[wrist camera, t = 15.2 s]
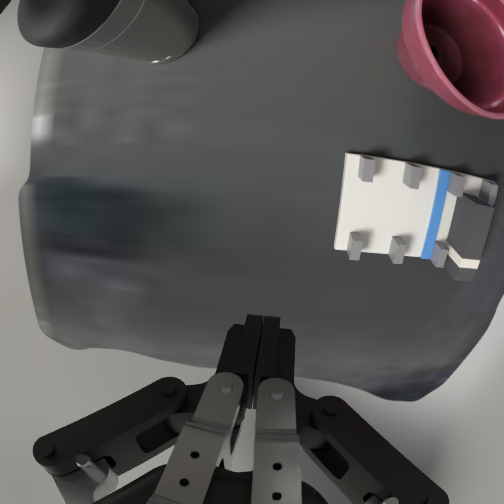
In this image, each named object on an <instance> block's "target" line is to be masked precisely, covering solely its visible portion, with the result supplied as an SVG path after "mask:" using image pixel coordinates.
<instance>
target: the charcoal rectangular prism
mask: <svg viewBox="0 0 504 504" xmlns="http://www.w3.org/2000/svg"><path fill="white" fill-rule="evenodd" d="M493 212H494V207H493V206H491V205H489V204H488V203H486V202H485V201H483V200H482V199H480V198H478V197H477V196H475V195H471V194H466V193H463V195H462V197H457V199H456V203H455V208H454V212H453V216H452V221H451V225H450V229H449V233H448V236H447V240H446V242H445V245H444V246H445V247H446V248H447V249H448V254H447V257H446V260H445V263H444V267H445V269H446V270H447V271H448V272H449V274H450V275H451V276H452V278H453V279H454V280H455V281H468V282H472V280H473V278H474V275H475V272H476V269H477V268H478V265H479V262H480V257H481V254H482V251H483V248H484V245H485V242H486V238H487V235H488V231H489V228H490V224H491V220H492V216H493Z"/></svg>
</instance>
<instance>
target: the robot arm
mask: <svg viewBox="0 0 504 504" xmlns="http://www.w3.org/2000/svg"><path fill="white" fill-rule="evenodd" d="M10 1H11V0H0V14H1V13H2V12H3V10H4V9H5V7H7V5H8V4H9V3H10ZM18 26H19V30H20V32H21V35H22V36H23V38H24V39H25V40H26V41H28V42H29V43H31V44H32V45H35V46H39V47H47V48H59V49H68V50H77V51H85V52H92V53H99V54H105V55H111V56H117V57H122V58H127V59H132V60H137V61H140V62H144V63H151V64H164V63H168V62H171V61H173V60H176V59H177V58H179V57H180V56H182V55H183V54H184V53H186V52H187V51H188V50H189V49H190V47H191V46H192V45H193V43H194V42H195V40H196V38H197V35H198V31H199V18H198V15H197V13H196V11H195V9H194V8H193V7H192V6H191V5H190V4H189V0H20V2H19V7H18ZM294 364H295V336H294V334H293V332H292V330H291V329H282V328H280V317H274V316H264V322H263V316H262V315H252V314H247V317H246V322H245V325H240V324H234V325H233V326H232V327H231V328H230V329H229V330H228V332H227V336H226V339H225V343H224V346H223V349H222V353H221V356H220V360H219V363H218V366H217V370H216V373H215V375H213V376H212V377H211V378H210V379H209V380H208V381H207V382H205V383H202V384H197V385H185V384H184V382H182V381H181V380H180V379H178V378H175V377H165V378H161V379H159V380H157V381H155V382H153V383H152V384H150V385H148V386H146V387H144V388H142V389H140V390H138V391H136V392H134V393H132V394H131V395H129V396H127V397H125V398H123V399H121V400H119V401H117V402H115V403H113V404H111V405H109V406H107V407H105V408H103V409H101V410H99V411H97V412H95V413H92V414H91V415H88V416H86V417H85V418H82V419H80V420H78V421H76V422H73V423H71V424H69V425H67V426H65V427H62V428H60V429H58V430H56V431H54V432H51V433H49V434H47V435H45V436H42V437H40V438H39V439H38V440H37V441H36V442H35V444H34V446H33V455H34V458H35V459H36V461H37V462H38V463H39V464H40V465H41V466H42V467H44V468H45V469H46V471H47V472H48V473H49V474H51V475H52V477H53V478H54V481H55V483H56V485H57V487H58V488H59V491H60V493H61V495H62V496H63V498H64V500H65V502H66V504H328V503H327V501H326V500H325V499H324V498H323V497H322V496H321V495H320V493H319V492H318V491H316V490H315V489H314V488H313V487H312V486H310V485H308V484H307V483H305V482H303V481H301V462H300V445H301V446H302V448H303V450H304V451H305V452H306V453H307V454H308V455H309V457H310V458H311V459H312V460H313V461H314V462H315V463H316V464H317V466H318V467H319V468H320V469H321V470H322V471H323V472H324V473H325V474H326V475H327V477H329V479H330V480H331V481H332V482H333V483H334V484H335V485H336V486H337V487H338V488H339V489H340V490H341V491H342V492H343V493H344V494H345V495H346V496H347V498H348V499H350V501H351V502H352V503H353V504H449V498H448V495H447V494H446V492H445V491H444V490H443V489H441V488H440V487H439V486H438V485H437V484H435V483H434V482H433V481H432V480H431V479H429V478H428V477H427V476H426V475H425V474H424V473H422V471H420V470H419V469H418V468H417V467H416V466H415V465H413V464H412V463H411V462H410V461H409V460H408V459H407V458H406V457H404V456H403V455H402V454H401V453H400V452H399V451H398V450H397V449H395V448H394V447H393V446H392V445H391V444H390V443H389V442H388V441H387V440H386V439H384V438H383V437H382V436H381V435H380V434H379V433H378V432H377V431H376V430H375V429H374V428H373V427H371V426H370V425H369V424H368V423H367V422H366V421H365V420H364V419H363V418H362V417H361V416H360V415H359V414H358V413H356V412H355V411H354V410H353V409H352V408H351V407H350V406H349V405H348V404H347V403H346V402H345V401H344V400H342V399H341V398H339V397H336V396H324V397H321V398H319V399H318V400H316V399H313V398H310V397H307V396H305V395H303V394H302V393H300V392H299V391H298V390H297V389H296V387H295V384H294ZM253 397H254V401H253ZM253 402H254V403H253ZM252 403H253V409H256V422H255V439H254V455H253V470H252V471H249V472H233V471H231V465H232V459H233V455H234V452H235V449H236V445H237V442H238V439H239V435H240V432H241V428H242V424H243V420H244V417H245V412H246V408H248V409H251V408H252ZM173 445H175V447H174V449H173V451H172V454H171V456H170V458H169V460H168V463H167V464H165V465H162V466H159V467H156V468H154V469H152V470H151V471H149V472H147V473H146V474H144V475H142V476H141V477H139V478H137V479H136V480H134V481H132V482H130V483H129V484H127V485H125V486H124V487H122V488H120V489H118V490H116V491H115V492H113V493H111V494H109V493H110V492H112V491H113V490H114V489H115V488H116V487H117V484H118V476H119V475H121V474H123V473H125V472H127V471H129V470H131V469H132V468H134V467H136V466H138V465H140V464H142V463H144V462H145V461H147V460H149V459H151V458H152V457H154V456H156V455H158V454H159V453H161V452H163V451H164V450H166V449H168V448H170V447H171V446H173ZM108 494H109V495H108Z"/></svg>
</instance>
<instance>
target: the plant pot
mask: <svg viewBox="0 0 504 504" xmlns="http://www.w3.org/2000/svg"><path fill="white" fill-rule="evenodd" d="M401 23H402V29H401V32H400V34H399V36H398V39H397V44H396V50H397V56H398V60H399V62H400V64H401V66H402V68H403V70H404V71H405V73H406V74H407V75H408V77H409V78H410V79H411V80H413V81H414V82H415V83H416V84H418V85H419V86H421V87H423V88H425V89H427V90H430V91H432V92H434V93H436V94H437V95H438V96H439V97H440V98H441V99H442V100H444V101H445V102H446V103H448V104H449V105H451V106H452V107H454V108H455V109H457V110H459V111H462V112H464V113H467V114H470V115H474V116H480V117H485V118H492V119H504V0H406V1H405V4H404V7H403V11H402V21H401ZM430 47H432V48H433V49H434V50H435V52H436V58H435V57H434V55H433V53H432V51H431V49H430Z"/></svg>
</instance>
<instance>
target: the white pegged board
mask: <svg viewBox="0 0 504 504" xmlns="http://www.w3.org/2000/svg"><path fill="white" fill-rule="evenodd" d="M497 190H498V185H497V183H496V182H494V181H492V180H488V179H484V178H480V177H477V176H473V175H469V174H464V173H460V172H456V171H452V170H447V169H442V168H438V167H433V166H428V165H423V164H418V163H412V162H407V161H401V160H395V159H389V158H383V157H376V156H370V155H362V154H355V153H347V152H345V163H344V172H343V181H342V190H341V198H340V206H339V214H338V221H337V228H336V235H335V241H334V249H337V250H347V253H348V256H349V259H350V260H359V259H360V254H361V252H371V253H383V254H388V255H389V256H390V258H391V260H392V262H393V263H395V264H402V262H403V258H404V256H415V257H421V258H422V259H430V260H431V261H432V262H433V264H434V265H435V266H436V267H444V263H445V260H446V257H447V254H448V249H447V248H446V247H445V246H444V245H445V242H446V240H447V236H448V233H449V229H450V225H451V221H452V216H453V212H454V208H455V203H456V199H457V197H462V195H463V193H466V194H471V195H475V196H477V197H478V198H480V199H482V200H483V201H485V202H486V203H488V204H489V205H491V206H493V204H495V199H496V195H497Z"/></svg>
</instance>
